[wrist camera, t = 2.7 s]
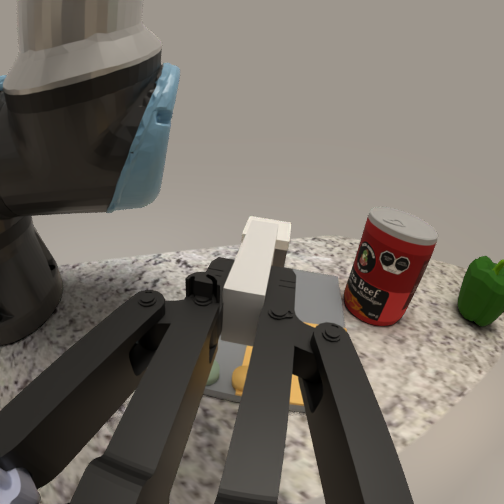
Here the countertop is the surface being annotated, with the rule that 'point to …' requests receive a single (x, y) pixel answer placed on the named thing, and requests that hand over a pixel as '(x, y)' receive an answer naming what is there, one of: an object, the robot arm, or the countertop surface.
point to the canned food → (388, 265)
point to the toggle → (281, 240)
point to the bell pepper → (482, 291)
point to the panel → (238, 356)
